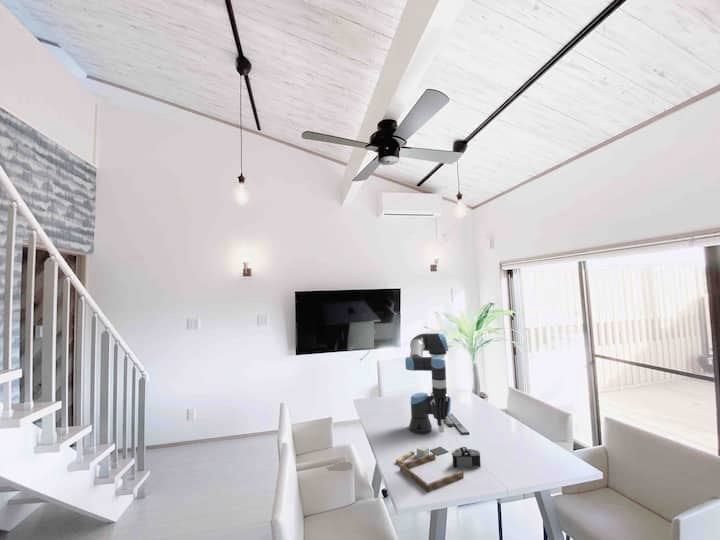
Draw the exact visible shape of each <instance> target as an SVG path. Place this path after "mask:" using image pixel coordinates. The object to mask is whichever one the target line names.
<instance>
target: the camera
mask: <svg viewBox="0 0 720 540" xmlns="http://www.w3.org/2000/svg"><path fill="white" fill-rule="evenodd" d="M451 456H452V466H453V468H454V469H470V468H471V469H472V468H473V469H474V468H475V469H477V468H481V451H480V450H478V449H474V448H472V449H471V448H468V447H467V446H462V447H459V448H455V449H454V450H452V452H451Z"/></svg>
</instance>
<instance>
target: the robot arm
mask: <svg viewBox="0 0 720 540" xmlns="http://www.w3.org/2000/svg"><path fill="white" fill-rule="evenodd" d="M409 346H410V347H409V348H410V352H409V353H410V354H409V356H406V358H405V362H404V363H405V370H407V371H414V372H416V371H422V372H423V371H428V372H431V386H432V387H431V390H432V391H431V392H430V395H428V393H426V392H417V393H414V394H412V395H411V397H410V413H411V414H410V415H411V416H410V417H411V418H410V421H409V425H408V427H409V428H408V429H409V431H410V432H412V433H414V434H419V435H421V434H422V435H424V434H429V433H431V432H432V430H433V428H432V427H433V426H432V423H431V421H430V418H429V417H430V416H429V415H433V419H436V420H437V422H436V423H437V426H438V428H437V429H438V432H440V433H444V432H445V426H444V425H445V420H446V419H447V418H448V415H450V413H451V402H452V401H451V400H452V399H451V398H452V397H450V396H449V393H448V392H447V391H448V389H447V374H446V373H447V371H446V365H447V364H446V359H445V356H446V355H447V352H448V351H449V346H448V341H447V335H445V333H439V332H438V333H437V332H436V333H420V334H417V335H415V336H414V337H413V338H412V339H411V341H410V343H409ZM424 352H428V354H429V355H430V356H423V355H424V354H423V353H424Z"/></svg>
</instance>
